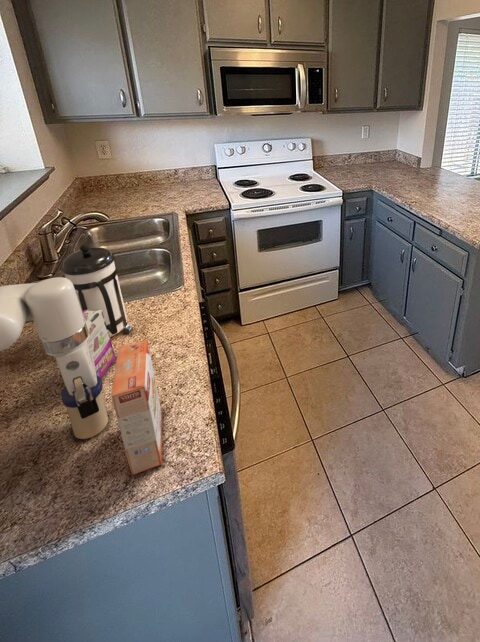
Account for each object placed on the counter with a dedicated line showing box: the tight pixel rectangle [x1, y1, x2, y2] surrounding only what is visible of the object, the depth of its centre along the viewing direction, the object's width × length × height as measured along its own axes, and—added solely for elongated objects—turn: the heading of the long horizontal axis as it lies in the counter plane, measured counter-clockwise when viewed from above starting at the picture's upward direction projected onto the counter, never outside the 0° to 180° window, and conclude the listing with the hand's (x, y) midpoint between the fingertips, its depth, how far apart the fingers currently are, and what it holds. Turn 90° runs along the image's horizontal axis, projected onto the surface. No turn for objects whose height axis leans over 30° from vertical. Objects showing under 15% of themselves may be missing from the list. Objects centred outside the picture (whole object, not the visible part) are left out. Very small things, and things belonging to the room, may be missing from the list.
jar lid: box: [60, 375, 104, 408], centre depth 77 cm, size 7×7×2 cm
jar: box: [65, 390, 109, 440], centre depth 78 cm, size 7×7×11 cm
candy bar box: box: [82, 310, 117, 380], centre depth 91 cm, size 11×5×16 cm, turn 0°
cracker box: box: [110, 339, 163, 476], centre depth 73 cm, size 14×6×21 cm, turn 23°
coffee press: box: [60, 243, 133, 338], centre depth 104 cm, size 17×16×30 cm
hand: (88, 401), depth 78 cm, fingers closed on jar lid, 7 cm apart
